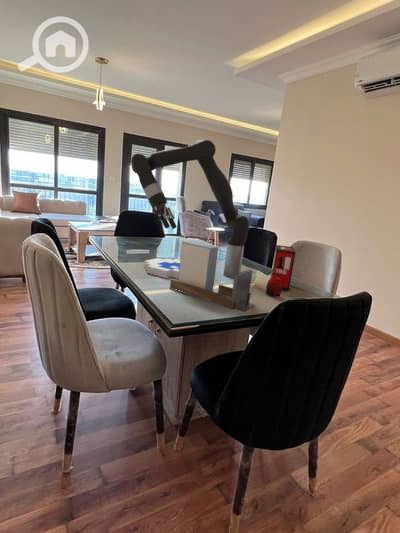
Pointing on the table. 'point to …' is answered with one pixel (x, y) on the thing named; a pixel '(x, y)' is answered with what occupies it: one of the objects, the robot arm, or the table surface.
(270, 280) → the red clay folk toy
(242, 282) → the bookend
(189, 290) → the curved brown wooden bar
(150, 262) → the stepped white slab
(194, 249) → the book
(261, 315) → the table surface
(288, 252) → the cleaning product box
